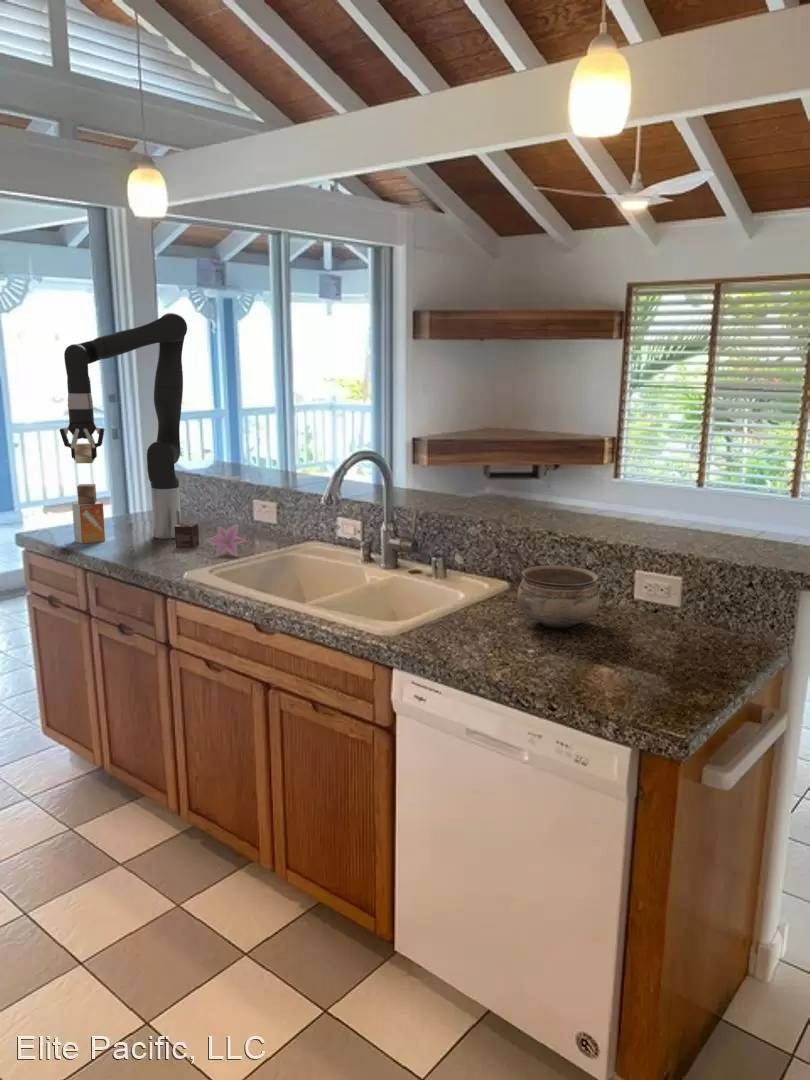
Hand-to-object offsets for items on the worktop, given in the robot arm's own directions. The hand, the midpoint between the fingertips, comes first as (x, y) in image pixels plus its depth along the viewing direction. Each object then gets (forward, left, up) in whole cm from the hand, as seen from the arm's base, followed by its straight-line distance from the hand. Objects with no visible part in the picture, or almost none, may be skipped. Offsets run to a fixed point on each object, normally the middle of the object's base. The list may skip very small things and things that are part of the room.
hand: (84, 459), depth 265 cm
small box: (0, 0, -28) cm, 28 cm away
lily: (-44, +27, -28) cm, 59 cm away
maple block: (0, 0, -1) cm, 1 cm away
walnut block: (0, 0, -15) cm, 15 cm away
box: (-32, +14, -28) cm, 45 cm away
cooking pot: (-118, +115, -28) cm, 167 cm away
